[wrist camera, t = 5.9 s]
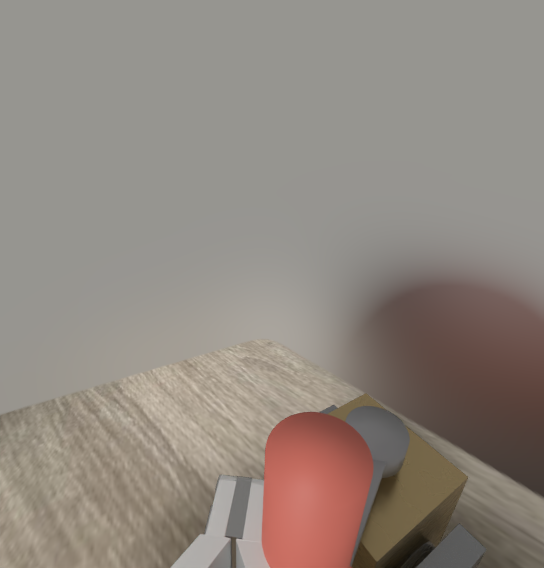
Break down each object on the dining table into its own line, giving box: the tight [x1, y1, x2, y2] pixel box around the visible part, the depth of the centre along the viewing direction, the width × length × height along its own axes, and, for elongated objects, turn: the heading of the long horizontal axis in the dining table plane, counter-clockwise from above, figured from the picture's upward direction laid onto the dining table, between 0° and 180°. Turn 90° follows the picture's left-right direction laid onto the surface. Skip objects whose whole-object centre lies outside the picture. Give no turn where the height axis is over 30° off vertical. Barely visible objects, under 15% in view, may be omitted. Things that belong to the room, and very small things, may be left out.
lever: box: [262, 406, 410, 568], centre depth 13 cm, size 12×3×9 cm, turn 148°
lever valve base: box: [319, 394, 487, 568], centre depth 20 cm, size 11×7×8 cm, turn 33°
